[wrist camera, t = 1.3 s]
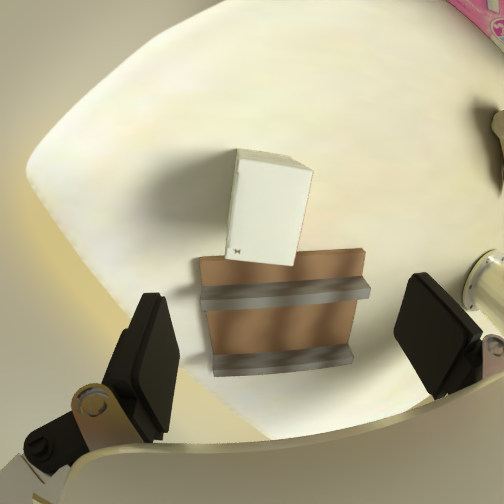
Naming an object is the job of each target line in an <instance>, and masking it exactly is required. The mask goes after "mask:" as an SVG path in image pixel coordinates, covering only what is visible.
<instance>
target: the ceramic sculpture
mask: <svg viewBox="0 0 504 504" xmlns="http://www.w3.org/2000/svg"><path fill="white" fill-rule="evenodd" d="M491 127H492V130H493V131H494V133H495V134H496V135H497V136H498V137H499V139H500V143H501V147H502V152H503V157H504V110H503V111H500V112H498V113H496V114H495V115H494V117H493V122H492V124H491ZM503 180H504V170H503Z"/></svg>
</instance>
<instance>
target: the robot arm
mask: <svg viewBox="0 0 504 504" xmlns="http://www.w3.org/2000/svg"><path fill="white" fill-rule="evenodd" d="M463 303H464V305H465V307H466V308H467V309H468V310H470V311H477V310H480V311H481V312H482V313H483V314H484V315H485V316H486V317H487V318H488V319H489V320H490V321H491V322H492V324H493V325H494V326H495V327H496V328H497V329H498V330H499V331H500V332H501V334H502V335H503V336H504V254H503V253H502V252H500V251H498V250H492V251H490V252H488V253H487V254H485V255H484V256H483V257H482V258H481V259H480V260H479V261H478V262H477V263H476V265H475V266H474V268H473V269H472V271H471V273H470V274H469V276H468V278H467V281H466V284H465V286H464V290H463ZM482 333H483V331H482V330H481V328H480V327H479V326H478V325H477V324H476V323H475V322H474V321H473V320H472V318H471V317H470V316H469V315H468V314H467V313H466V312H465V311H464V310H463V309H462V308H461V307H460V305H459V304H458V303H457V302H456V301H455V300H454V299H453V298H452V297H451V296H450V295H449V294H448V293H447V292H446V291H445V290H444V289H443V288H442V287H441V286H440V285H439V284H438V283H437V282H436V281H435V280H434V279H433V278H432V277H431V276H430V275H429V274H428V273H426V272H422V273H414V274H413V275H412V276H411V278H409V280H408V283H407V287H406V291H405V294H404V298H403V301H402V305H401V308H400V311H399V315H398V318H397V321H396V324H395V327H394V336H395V338H396V340H397V341H398V343H399V345H400V346H401V348H402V349H403V351H404V353H405V354H406V356H407V358H408V359H409V361H410V362H411V364H412V366H413V368H414V369H415V371H416V373H417V374H418V376H419V378H420V379H421V381H422V383H423V385H424V386H425V388H426V390H427V392H428V393H429V394H431V395H432V396H433V398H434V400H437V399H439V400H437V401H434V402H431V403H429V404H426V405H423V406H421V407H418V408H415V409H412V410H409V411H406V412H403V413H400V414H397V415H394V416H391V417H387V418H384V419H381V420H377V421H373V422H370V423H366V424H362V425H358V426H354V427H350V428H345V429H341V430H336V431H331V432H326V433H320V434H315V435H309V436H302V437H296V438H288V439H280V440H270V441H261V442H260V441H259V442H245V443H226V444H225V443H223V444H184V443H176V444H175V443H153V440H163V433H167V432H168V431H169V424H170V417H171V410H172V403H173V396H174V390H175V384H176V377H177V371H178V365H179V359H180V353H179V348H178V344H177V341H176V337H175V333H174V329H173V326H172V322H171V318H170V314H169V310H168V306H167V301H166V298H165V297H164V296H163V297H161V295H160V293H143V295H142V297H141V299H140V301H139V304H138V306H137V308H136V311H135V313H134V315H133V318H132V320H131V322H130V325H129V327H128V329H124V330H123V331H122V334H121V335H120V338H119V340H118V343H117V345H116V347H115V350H114V352H113V355H112V357H111V360H110V362H109V365H108V368H107V370H106V373H105V375H104V378H103V381H102V383H101V384H98V383H93V384H88V385H85V386H83V387H82V388H80V389H79V390H78V391H77V392H76V393H75V394H74V396H73V398H72V402H71V408H72V411H70V412H68V413H66V414H64V415H62V416H61V417H59V418H57V419H55V420H53V421H51V422H49V423H48V424H46V425H44V426H42V427H40V428H38V429H36V430H34V431H33V432H31V433H30V434H29V435H28V437H27V438H26V439H25V442H24V449H23V450H24V453H23V454H22V455H21V454H19V453H18V454H17V455H16V456H15V457H14V458H13V459H12V460H11V461H10V462H9V463H8V464H7V465H6V466H5V467H4V468H3V469H2V470H1V471H0V504H504V339H503V338H501V337H500V336H497V335H494V334H489V335H486V336H485V337H484V338H483V340H482V341H481V340H480V337H481V335H482ZM447 393H448V396H446V397H445V395H446V394H447ZM442 397H443V398H442ZM440 398H441V399H440Z"/></svg>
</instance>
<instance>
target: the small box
mask: <svg viewBox="0 0 504 504" xmlns="http://www.w3.org/2000/svg"><path fill="white" fill-rule="evenodd" d="M312 176H313V170H312V169H310V168H308V167H306V166H305V165H303V164H301V163H300V162H298V161H296V160H294V159H293V158H291V157H289V156H286V155H280V154H274V153H268V152H262V151H255V150H248V149H238V150H237V156H236V163H235V171H234V178H233V185H232V193H231V200H230V208H229V216H228V224H227V235H226V247H225V259H231V260H239V261H249V262H258V263H267V264H276V265H287V266H293V265H294V261H295V257H296V252H297V248H298V243H299V239H300V234H301V230H302V225H303V220H304V216H305V211H306V206H307V201H308V196H309V192H310V187H311V181H312Z"/></svg>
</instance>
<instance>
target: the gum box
mask: <svg viewBox="0 0 504 504" xmlns="http://www.w3.org/2000/svg"><path fill="white" fill-rule="evenodd" d="M447 1H448V2H450V3H451V4H452V5H454V6H455V7H456V8H457V9H458V10H460V11H461V12H462V13H463V14H464V15H465V16H466V17H468V18H469V19H470V20H471V21H472V22H474V23H475V24H476V25H477V26H478V27H479V28H480V29H481V30H482V31H483V32H484V33H485V34H486V35H487V36H488V37H489V38H490V39H491V40H492V41H493V42H494V43H495V44H496V45H497V46H498V47H499V48H500V49H501V50H502V51H503V52H504V0H447Z"/></svg>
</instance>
